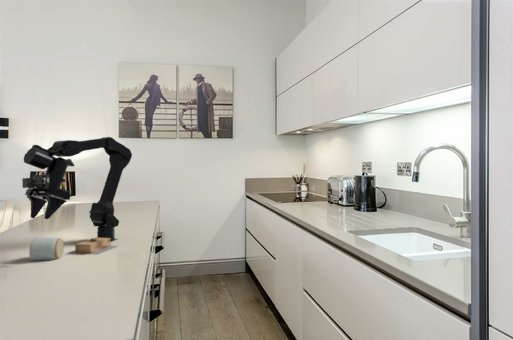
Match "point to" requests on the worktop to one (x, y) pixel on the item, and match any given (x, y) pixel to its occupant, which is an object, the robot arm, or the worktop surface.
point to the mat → (97, 251)
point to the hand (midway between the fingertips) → (39, 218)
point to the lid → (92, 245)
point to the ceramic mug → (46, 248)
